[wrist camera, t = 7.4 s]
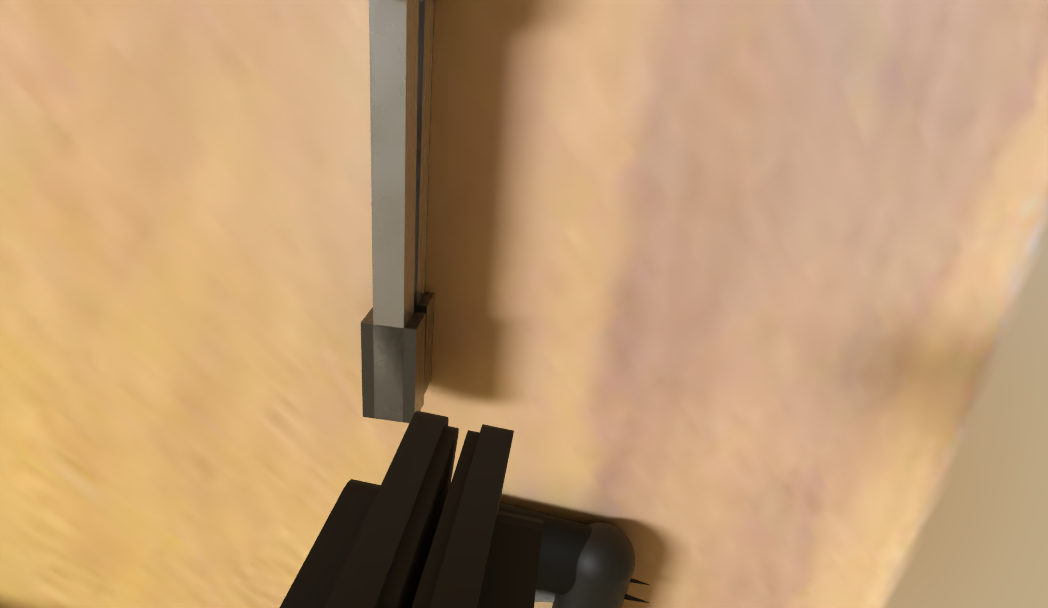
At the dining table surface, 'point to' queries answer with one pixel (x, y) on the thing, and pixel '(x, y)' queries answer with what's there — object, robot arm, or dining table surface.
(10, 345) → the dining table surface
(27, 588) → the dining table surface
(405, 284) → the tongs hinged arm
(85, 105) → the dining table surface
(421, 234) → the tongs fixed arm
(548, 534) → the door handle
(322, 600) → the robot arm
